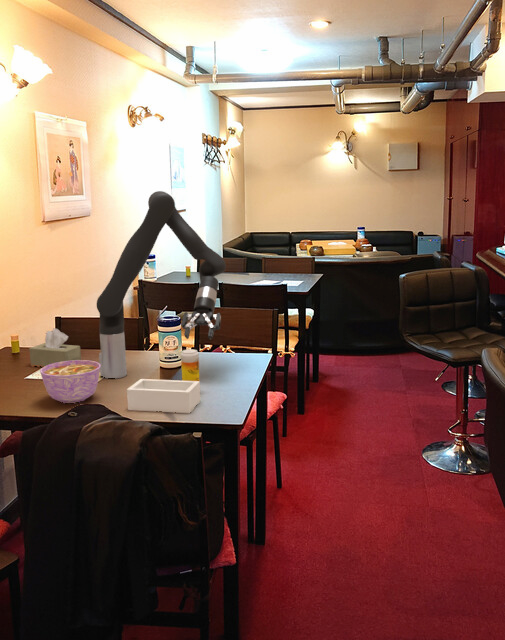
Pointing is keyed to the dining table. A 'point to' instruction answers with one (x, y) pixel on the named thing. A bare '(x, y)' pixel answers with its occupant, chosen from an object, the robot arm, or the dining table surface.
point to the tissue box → (54, 350)
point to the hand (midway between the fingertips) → (198, 338)
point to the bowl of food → (71, 380)
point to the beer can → (190, 365)
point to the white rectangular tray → (163, 395)
